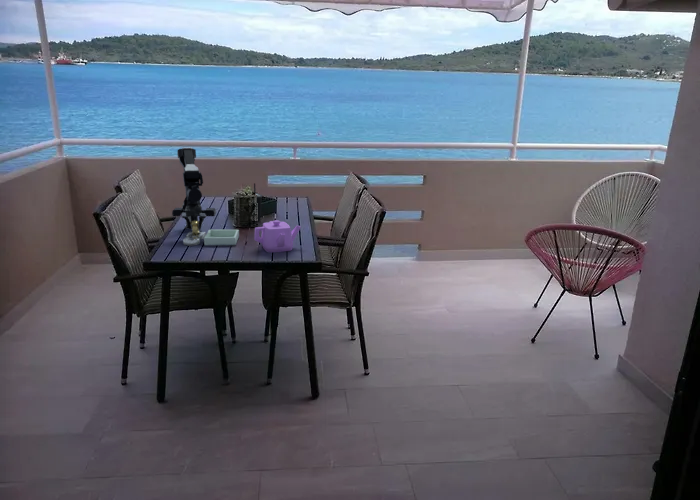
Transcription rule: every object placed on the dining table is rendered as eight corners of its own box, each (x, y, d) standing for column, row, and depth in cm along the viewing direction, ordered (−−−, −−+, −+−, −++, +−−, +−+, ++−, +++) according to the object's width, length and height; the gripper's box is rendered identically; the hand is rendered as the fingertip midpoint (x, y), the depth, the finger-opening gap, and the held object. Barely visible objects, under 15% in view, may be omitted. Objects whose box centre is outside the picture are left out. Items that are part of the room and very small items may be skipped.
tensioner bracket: (189, 234, 238) (189, 229, 237) (205, 234, 238) (205, 229, 238) (181, 245, 221) (180, 240, 220) (198, 245, 222) (198, 240, 221)
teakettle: (270, 240, 234) (270, 214, 230) (302, 245, 228) (302, 219, 224) (250, 250, 219) (249, 222, 215) (283, 255, 213) (283, 227, 209)
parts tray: (209, 236, 236) (209, 229, 235) (239, 236, 237) (238, 229, 236) (204, 245, 223) (204, 237, 222) (235, 245, 224) (235, 237, 223)
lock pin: (192, 233, 236) (191, 220, 234) (201, 233, 236) (200, 220, 234) (190, 235, 232) (189, 222, 230) (199, 235, 232) (198, 222, 230)
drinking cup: (248, 222, 263) (247, 184, 257) (247, 219, 270) (246, 182, 264) (263, 222, 265) (262, 184, 259) (262, 218, 272) (261, 182, 266)
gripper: (168, 200, 220) (170, 234, 225) (211, 201, 222) (213, 234, 227) (174, 195, 231) (176, 228, 235) (215, 196, 232) (216, 228, 237)
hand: (195, 229), depth 233 cm, fingers closed on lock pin, 4 cm apart
